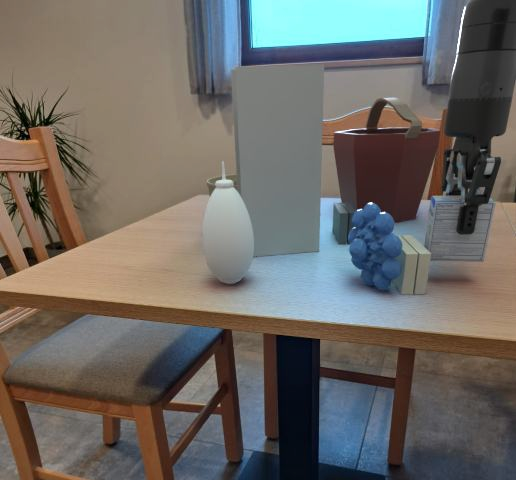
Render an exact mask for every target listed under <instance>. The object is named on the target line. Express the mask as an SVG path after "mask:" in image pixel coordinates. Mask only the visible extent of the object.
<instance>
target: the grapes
mask: <svg viewBox="0 0 516 480" xmlns="http://www.w3.org/2000/svg"><path fill="white" fill-rule="evenodd" d="M352 224H353V225H354V227H353V228H352V229H351V230H350V232H349V235H348V241H349V243H350V244H349V248H348V253H349V255H350V256H351V263H352V265H353V266H354V267H355V268H356V269H359V270H360V271H361V273H360V278H361V280H362V281H363V283H364V284H365V285H367V286H369V287H376V288H377V289H378V290H380V291H388V289H390V287H391V285H392V283H393V281H392V280H393V279H396V278H397V277H399V275H400V273H401V264H400V262H399V261H398V260H397V259H396V258H395V257H397V256H399V255H400V253H401V251H402V246H403V245H402V241H401V239H400V238H399V237H398V236H397V235H398V234H395V233H393V231H394V229H395V224H396V223H394V220H393V218H392V217H391V215H390V214H388V213H386V212H381V210H380V208H379V207H378V206H377V204H374V203H368V204H367V205H366V206H365V207H364V209H358V210H357V211H356V212H355V213H354V215H353V217H352Z"/></svg>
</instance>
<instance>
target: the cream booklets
mask: <svg viewBox="0 0 516 480" xmlns="http://www.w3.org/2000/svg"><path fill="white" fill-rule="evenodd" d="M396 235H397V236H398V237H399V238H400V239H401V241H402V245H403V246H402V251H401V253H400V255H399V256H397V257H395V258H396V259H397V260H398V261H399V262H400V264H401V273H400V275H399V277H397V278H396V279H393V280H392V283H393V284H394V287H396V288H397V291H398V292H399V293H400V294H401V296H405V295H426V294H427V287H428V279H429V272H430V266H431V265H430V264H431V261H430V259H431V253H430V252H429V251H428V250H427V249H426V248H425V247H424V245H423V244H422V243H421V242H419V240H418V239H416V238H415V237H414V235H412V234H401V235H400V234H396Z"/></svg>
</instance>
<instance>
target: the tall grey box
mask: <svg viewBox="0 0 516 480" xmlns="http://www.w3.org/2000/svg"><path fill="white" fill-rule="evenodd" d="M230 73H231V74H230V77H231V78H230V79H231V96H232V97H231V98H232V113H233V115H232V116H233V133H234V134H233V137H234V150H235V151H234V152H235V171H236V173H235V174H237V192H238V193H239V195H240V196H241V198H242V200H243V202H244V204H245V206H246V208H247V211H248V214H249V217H250V220H251V224H252V229H253V236H254V252H253V258H257V257H267V256H279V255H291V254H304V253H305V254H306V253H316V252H320V238H321V237H320V236H321V234H320V233H321V232H320V231H321V201H322V197H321V196H322V168H323V167H322V165H323V163H322V162H323V130H324V129H323V127H324V126H323V125H324V124H323V123H324V89H325V64H299V65H298V64H295V65H292V64H291V65H264V66H263V65H260V66H256V65H255V66H235V67H234V68H233V69H230ZM256 256H257V257H256Z"/></svg>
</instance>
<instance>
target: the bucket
mask: <svg viewBox="0 0 516 480" xmlns="http://www.w3.org/2000/svg"><path fill="white" fill-rule="evenodd" d="M387 104H388V105H389V106H390V107H391V108H393V110H394V111H395V113H396V114H397V116H399V118H401V119H402V121H405V122H408V123H410V125H409V127H378V125H379V121H380V120H381V115H382V112H383V110H384V108H385V107H386V106H387ZM440 136H441V130H440V129H437V128H434V127H423V122H422V119H420V118H419V117H418V116H417V115H416V113H414V112H413V110H411V108H410V107H409V105H408V104H407V103H405V102H404V101H402V100H401V99H400V98H398V97H382V98H381V97H380V98H377V99H376V100H375V101H374V102H373V104H372V105H371V107H370V109H369V112H368V114H367V118H366V123H365V128H353V129H352V128H351V129H346V130H340V131H334V132H333V146H332V147H333V153H334V161H335V168H336V174H337V181H338V189H339V195H340V196H339V197H340V203H351V205H352V206H353V207H354V209H355V210H356V211H357V210H358V209H364V207H365V206H366V205H367V204H368V203H374V204H377V206H378V207H379V208H380V210H381V212H386V213H388V214H390V215H391V217H392V218H393V220H394V223H395V224H396V223H397V224H398V223H402V222H406V221H413V220H416V218H417V215H418V211H419V208H420V206H421V202H422V199H423V197H424V196H423V195H424V192H425V190H426V186H427V183H428V180H429V177H430V173H431V171H432V168H433V165H434V162H435V159H436V155H437V152H438V149H439V146H440V139H441V137H440Z"/></svg>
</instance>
